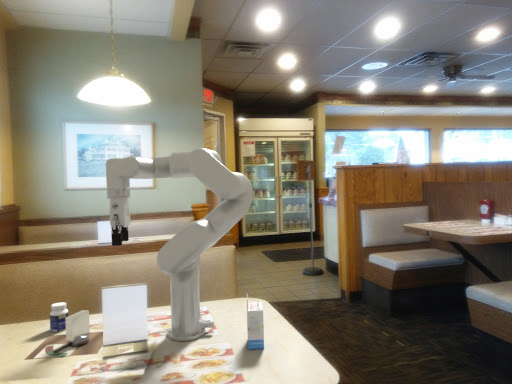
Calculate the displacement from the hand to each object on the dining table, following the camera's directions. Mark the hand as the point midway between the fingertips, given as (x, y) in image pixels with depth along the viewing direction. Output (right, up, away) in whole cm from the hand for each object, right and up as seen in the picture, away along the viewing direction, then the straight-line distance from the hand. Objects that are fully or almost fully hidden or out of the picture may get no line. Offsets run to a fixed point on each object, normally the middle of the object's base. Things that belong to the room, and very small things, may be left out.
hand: (120, 243), depth 128 cm
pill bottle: (-21, -31, 0) cm, 38 cm away
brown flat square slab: (-10, -31, -13) cm, 35 cm away
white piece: (-9, -29, -15) cm, 34 cm away
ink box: (+47, -29, -14) cm, 57 cm away
